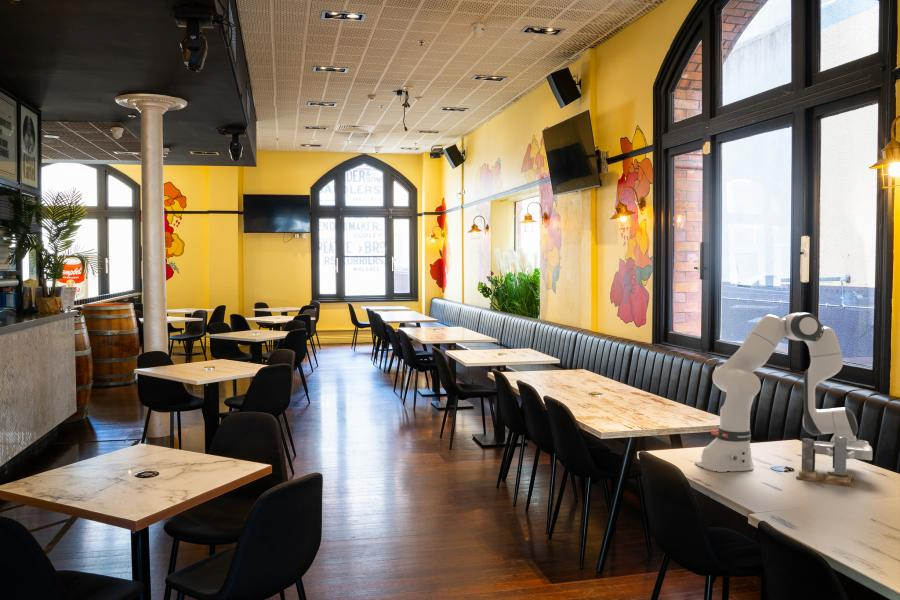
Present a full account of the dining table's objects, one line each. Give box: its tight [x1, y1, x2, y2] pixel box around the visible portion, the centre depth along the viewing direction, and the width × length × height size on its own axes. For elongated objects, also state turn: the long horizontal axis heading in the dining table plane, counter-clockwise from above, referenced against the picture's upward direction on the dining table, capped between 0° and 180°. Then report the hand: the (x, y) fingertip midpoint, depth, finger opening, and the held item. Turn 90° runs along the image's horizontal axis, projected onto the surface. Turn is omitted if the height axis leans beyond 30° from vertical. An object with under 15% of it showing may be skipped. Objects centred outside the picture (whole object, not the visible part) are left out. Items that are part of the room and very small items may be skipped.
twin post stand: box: [795, 438, 856, 488], centre depth 260 cm, size 18×9×14 cm, turn 57°
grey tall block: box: [832, 436, 847, 475], centre depth 258 cm, size 4×3×14 cm
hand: (839, 455), depth 257 cm, fingers closed on grey tall block, 4 cm apart
